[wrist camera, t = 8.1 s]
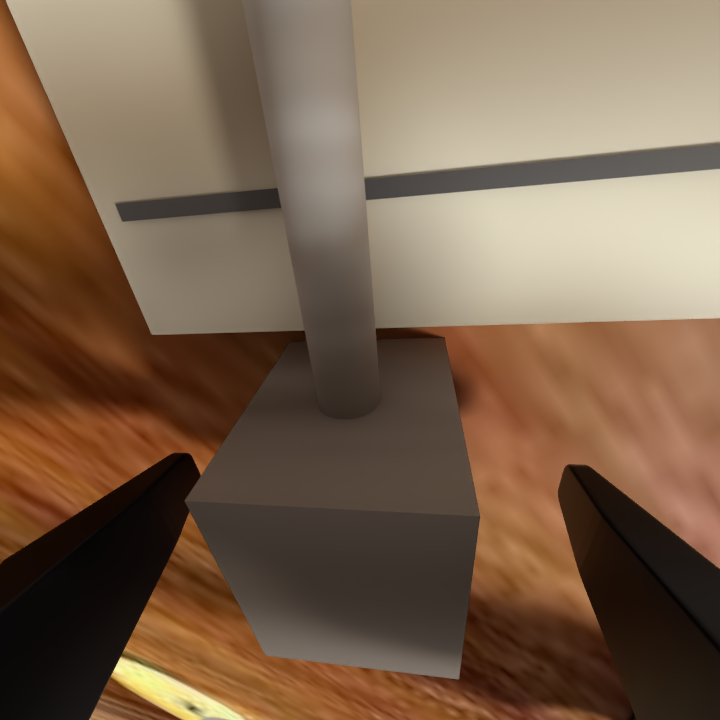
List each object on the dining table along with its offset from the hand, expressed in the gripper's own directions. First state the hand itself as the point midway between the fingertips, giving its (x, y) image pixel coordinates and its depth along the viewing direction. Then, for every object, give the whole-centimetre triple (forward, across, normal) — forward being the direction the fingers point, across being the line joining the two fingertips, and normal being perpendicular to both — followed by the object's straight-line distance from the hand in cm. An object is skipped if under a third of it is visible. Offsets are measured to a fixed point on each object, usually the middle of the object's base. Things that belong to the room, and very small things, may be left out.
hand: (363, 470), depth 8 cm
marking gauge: (+2, 0, -3) cm, 4 cm away
